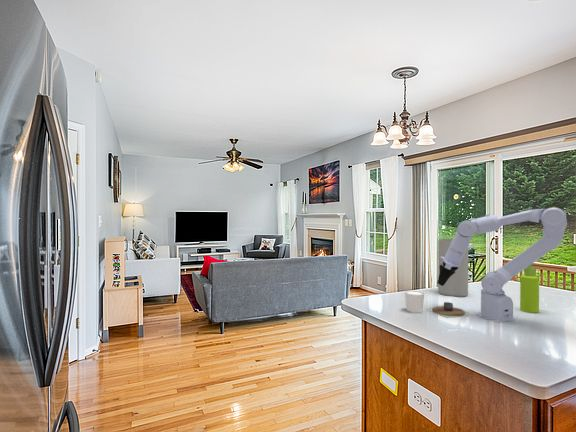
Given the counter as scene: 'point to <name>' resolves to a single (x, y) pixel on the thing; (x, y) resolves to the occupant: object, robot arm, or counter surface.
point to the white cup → (414, 301)
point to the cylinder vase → (459, 279)
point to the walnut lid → (448, 310)
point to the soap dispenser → (529, 290)
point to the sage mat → (449, 316)
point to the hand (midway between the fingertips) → (441, 282)
